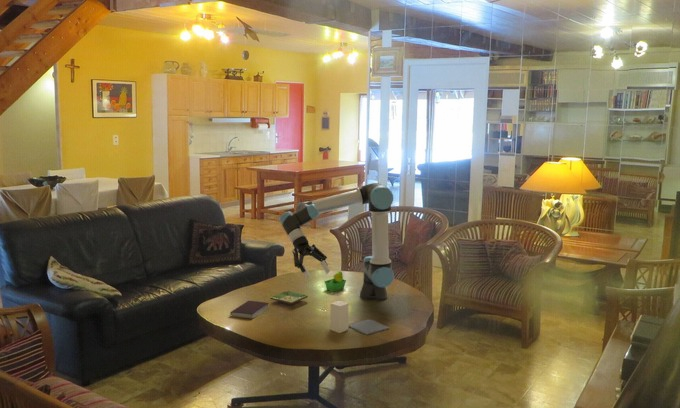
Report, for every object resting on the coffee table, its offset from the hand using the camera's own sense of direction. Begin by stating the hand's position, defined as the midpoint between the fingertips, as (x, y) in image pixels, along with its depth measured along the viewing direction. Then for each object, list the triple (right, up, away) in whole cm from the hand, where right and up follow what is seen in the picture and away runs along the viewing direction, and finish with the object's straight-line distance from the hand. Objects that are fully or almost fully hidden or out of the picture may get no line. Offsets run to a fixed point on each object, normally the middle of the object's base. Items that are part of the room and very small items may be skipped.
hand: (318, 274), depth 289 cm
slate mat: (+24, -25, -6) cm, 35 cm away
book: (-36, -21, +15) cm, 44 cm away
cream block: (+10, -25, -9) cm, 28 cm away
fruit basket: (+8, -15, +54) cm, 57 cm away
